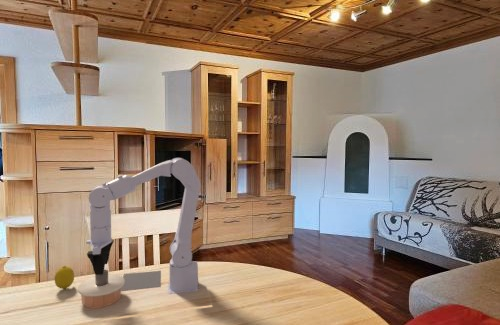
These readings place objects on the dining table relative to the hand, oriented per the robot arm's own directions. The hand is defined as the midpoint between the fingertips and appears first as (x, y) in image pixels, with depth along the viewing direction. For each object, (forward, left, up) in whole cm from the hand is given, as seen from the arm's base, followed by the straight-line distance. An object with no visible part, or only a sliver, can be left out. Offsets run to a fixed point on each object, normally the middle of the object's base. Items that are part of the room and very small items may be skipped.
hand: (101, 268), depth 95 cm
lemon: (+13, -10, -10) cm, 19 cm away
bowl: (0, 0, -10) cm, 10 cm away
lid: (0, 0, -6) cm, 6 cm away
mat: (-11, -10, -10) cm, 18 cm away
